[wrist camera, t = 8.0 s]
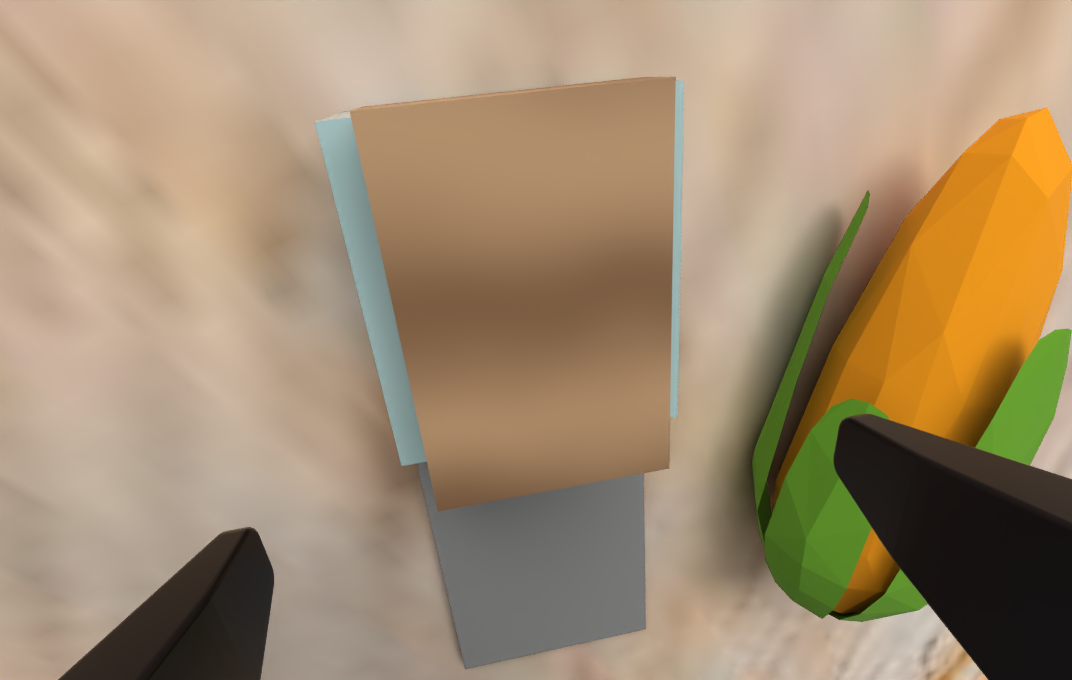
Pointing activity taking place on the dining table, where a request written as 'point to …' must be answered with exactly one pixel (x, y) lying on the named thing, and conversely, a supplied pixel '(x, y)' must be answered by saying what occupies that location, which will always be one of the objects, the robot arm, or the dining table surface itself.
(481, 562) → the mat
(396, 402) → the dish
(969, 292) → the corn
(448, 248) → the board
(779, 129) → the dining table surface
